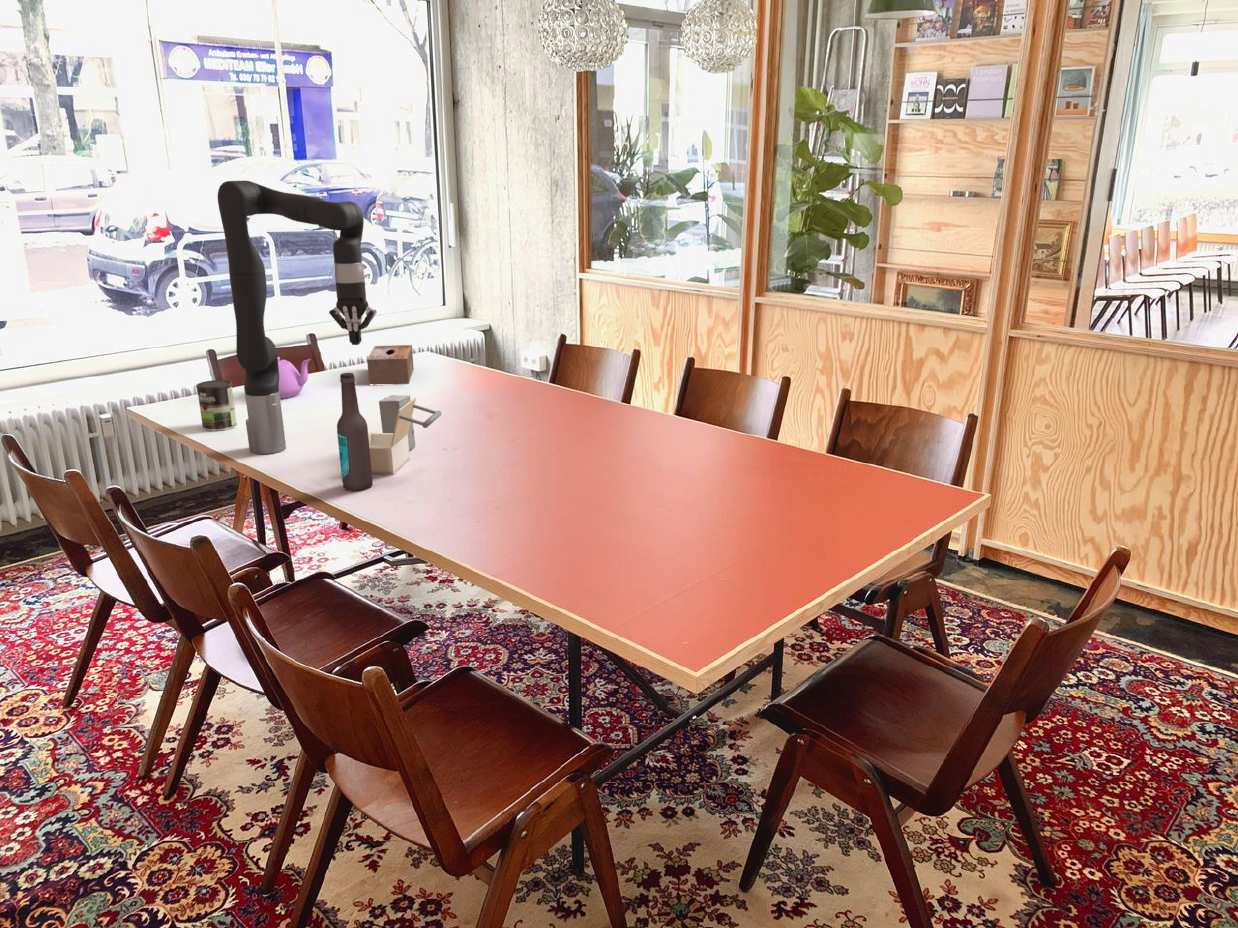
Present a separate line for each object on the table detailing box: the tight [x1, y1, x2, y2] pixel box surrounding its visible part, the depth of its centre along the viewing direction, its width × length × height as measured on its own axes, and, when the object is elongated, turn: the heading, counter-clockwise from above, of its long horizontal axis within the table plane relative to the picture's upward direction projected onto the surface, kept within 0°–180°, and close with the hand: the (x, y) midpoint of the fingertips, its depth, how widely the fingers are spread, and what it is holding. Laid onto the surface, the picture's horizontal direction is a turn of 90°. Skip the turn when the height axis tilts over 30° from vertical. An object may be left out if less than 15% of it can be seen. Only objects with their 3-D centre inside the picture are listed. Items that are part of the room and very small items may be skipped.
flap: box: [391, 397, 442, 446], centre depth 252 cm, size 10×13×8 cm
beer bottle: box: [336, 372, 374, 492], centre depth 236 cm, size 8×8×30 cm
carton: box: [368, 432, 411, 476], centre depth 255 cm, size 11×14×8 cm
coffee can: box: [195, 379, 238, 432], centre depth 292 cm, size 10×10×14 cm
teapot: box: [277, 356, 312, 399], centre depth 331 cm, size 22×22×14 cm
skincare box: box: [378, 394, 416, 452], centre depth 268 cm, size 8×7×16 cm
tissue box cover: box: [366, 344, 415, 385], centre depth 358 cm, size 26×14×10 cm, turn 8°
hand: (356, 344), depth 252 cm, fingers closed
